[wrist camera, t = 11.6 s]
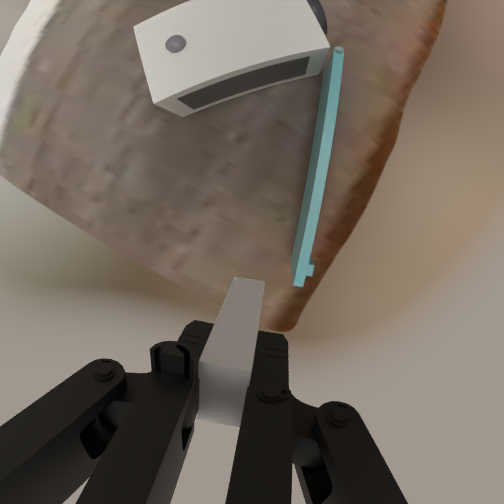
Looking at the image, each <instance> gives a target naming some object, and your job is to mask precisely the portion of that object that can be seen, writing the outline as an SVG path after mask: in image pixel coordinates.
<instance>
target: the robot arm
mask: <svg viewBox="0 0 504 504" xmlns="http://www.w3.org/2000/svg"><path fill="white" fill-rule="evenodd" d="M264 287H265V281H259V280H253V279H247V278H240V277H234V279H233V281H232V284H231V286H230V288H229V291H228V293H227V295H226V298H225V300H224V302H223V305H222V307H221V310H220V312H219V314H218V317H217V319H216V322H215V324H212V323H207V322H202V321H197V320H194V321H193V322H191V323H190V324H188V325H186V327H185V328H184V330H183V332H182V335H181V336H180V337H179V339H178V341H177V342H176V341H165V342H160V343H158V344H155V345H154V346H153V347H152V348H150V356H151V367H152V371H151V372H149V373H126V372H125V370H124V368H123V366H122V365H121V364H120V363H119V362H117V361H114V360H112V359H98V360H94V361H92V362H90V363H89V364H87V365H86V366H84V367H83V368H82V369H80V370H79V371H77V372H76V373H74V374H73V375H72V376H70V377H69V378H68V379H66V380H65V381H63V382H62V383H61V384H59V385H58V386H56V387H55V388H53V389H52V390H51V391H49V392H48V393H46V394H45V395H44V396H42V397H41V398H39V399H38V400H37V401H35V402H34V403H32V404H31V405H30V406H28V407H27V408H26V409H24V410H23V411H21V412H20V413H18V414H17V415H16V416H14V417H13V418H12V419H10V420H9V421H7V422H6V423H5V424H3V425H2V426H0V504H62V503H63V502H64V501H66V500H67V499H68V498H69V497H70V496H71V495H72V494H73V493H74V492H75V491H76V490H77V489H78V488H79V487H80V486H81V485H82V484H83V483H84V482H85V481H86V480H87V479H88V478H89V477H90V478H89V480H88V482H87V484H86V485H85V487H84V489H83V491H82V493H81V495H80V497H79V498H78V500H77V502H76V504H170V502H171V499H172V496H173V493H174V490H175V487H176V484H177V481H178V478H179V475H180V472H181V469H182V466H183V463H184V460H185V457H186V454H187V450H188V448H189V444H190V442H191V438H192V435H193V432H194V421H195V418H196V415H197V412H198V419H201V420H206V421H210V422H215V423H220V424H225V425H231V426H237V427H240V430H239V435H238V440H237V445H236V451H235V456H234V461H233V467H232V472H231V477H230V482H229V487H228V493H227V497H226V502H225V504H291V493H292V463H293V464H294V465H295V469H296V472H297V475H298V479H299V482H300V485H301V489H302V492H303V495H304V498H305V502H306V504H408V503H407V501H406V499H405V497H404V495H403V494H402V492H401V490H400V488H399V486H398V484H397V482H396V481H395V479H394V477H393V475H392V473H391V471H390V469H389V468H388V466H387V464H386V462H385V460H384V458H383V457H382V455H381V453H380V451H379V449H378V447H377V446H376V444H375V442H374V440H373V438H372V437H371V435H370V433H369V431H368V429H367V428H366V426H365V424H364V422H363V420H362V418H361V417H360V415H359V413H358V412H357V411H356V410H355V408H353V407H352V406H350V405H348V404H346V403H343V402H338V401H331V402H327V403H324V404H323V405H321V406H320V407H319V408H316V407H313V406H310V405H307V404H305V403H302V402H300V401H299V400H298V399H296V398H295V397H294V396H293V395H292V393H291V391H290V390H289V383H288V382H289V377H288V376H289V375H288V374H289V371H288V342H287V340H286V338H285V337H284V335H283V334H277V333H270V332H264V331H258V327H259V321H260V314H261V307H262V301H263V294H264Z"/></svg>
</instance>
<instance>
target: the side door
mask: <svg viewBox="0 0 504 504" xmlns="http://www.w3.org/2000/svg"><path fill="white" fill-rule="evenodd" d="M343 59H344V49H343V47H341V46H336V47H335V48H334V50H333V52H332V54H331V57H330V59H329V61H328V63H327V65H326V68H325V70H324V72H323V78H322V85H321V92H320V99H319V106H318V112H317V119H316V125H315V132H314V138H313V144H312V150H311V156H310V162H309V168H308V173H307V179H306V185H305V190H304V195H303V201H302V206H301V211H300V217H299V222H298V227H297V232H296V237H295V242H294V247H293V251H292V256H291V268H292V278H293V285H294V286H300V287H303V285H304V281H305V277H306V275H307V276H312V274H313V269H314V263H313V260H312V257H311V251H312V246H313V241H314V237H315V232H316V227H317V223H318V218H319V213H320V208H321V203H322V198H323V193H324V187H325V182H326V176H327V171H328V165H329V159H330V153H331V147H332V141H333V135H334V128H335V122H336V115H337V108H338V101H339V93H340V85H341V77H342V68H343Z"/></svg>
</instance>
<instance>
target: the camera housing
mask: <svg viewBox="0 0 504 504" xmlns="http://www.w3.org/2000/svg"><path fill="white" fill-rule="evenodd" d="M133 28H134V32H135V36H136V40H137V44H138V48H139V52H140V56H141V60H142V64H143V67H144V71H145V75H146V78H147V82H148V86H149V89H150V93H151V96H152V100H153V103H154V104H155V105H158V106H160V107H162V108H164V109H166V110H168V111H170V112H172V113H175V114H177V115H179V116H181V117H185V116H188V115H190V114H193V113H195V112H198V111H200V110H203V109H205V108H208V107H210V106H213V105H216V104H219V103H221V102H224V101H227V100H230V99H233V98H236V97H239V96H242V95H245V94H248V93H251V92H254V91H258V90H261V89H264V88H268V87H271V86H275V85H278V84H282V83H286V82H290V81H294V80H298V79H302V78H306V77H311V76H316V75H319V74H320V71H321V69H322V66H323V64H324V61H325V59H326V57H327V54H328V52H329V49H330V45H329V43H328V41H327V39H326V34H327V22H326V17H325V14H324V11H323V8H322V6H321V4H320V2H319V0H190V1H187V2H185V3H182V4H180V5H178V6H175V7H173V8H171V9H168V10H166V11H164V12H162V13H160V14H158V15H155V16H153V17H151V18H149V19H147V20H145V21H143V22H141V23H139V24H138V25H136V26H134V27H133Z"/></svg>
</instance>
